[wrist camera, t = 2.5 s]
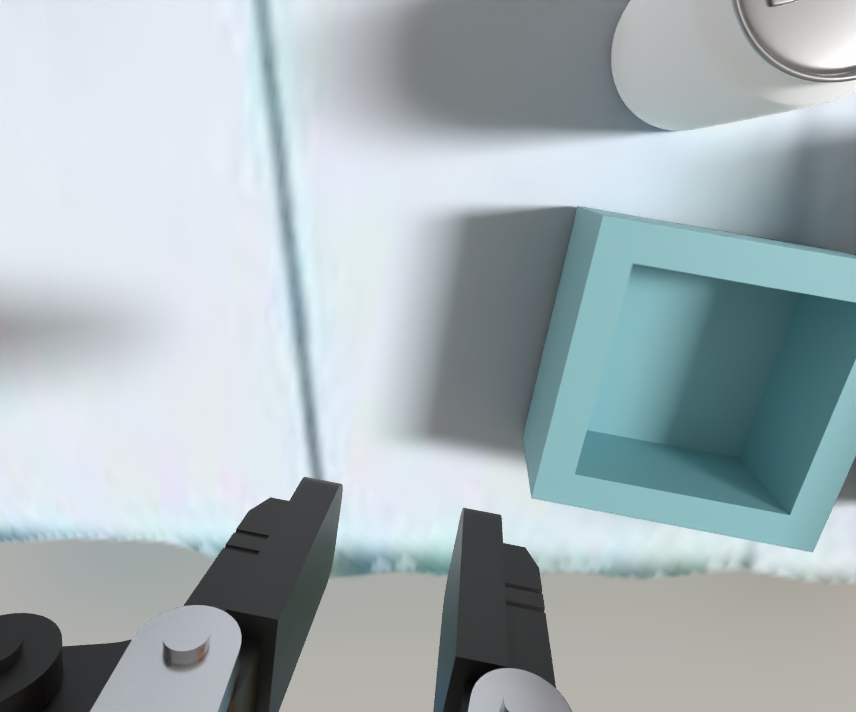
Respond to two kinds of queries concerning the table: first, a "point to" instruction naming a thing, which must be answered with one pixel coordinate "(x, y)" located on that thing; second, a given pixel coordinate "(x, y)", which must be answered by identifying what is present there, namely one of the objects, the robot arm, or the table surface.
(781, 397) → the socket block
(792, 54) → the can
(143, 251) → the table surface
